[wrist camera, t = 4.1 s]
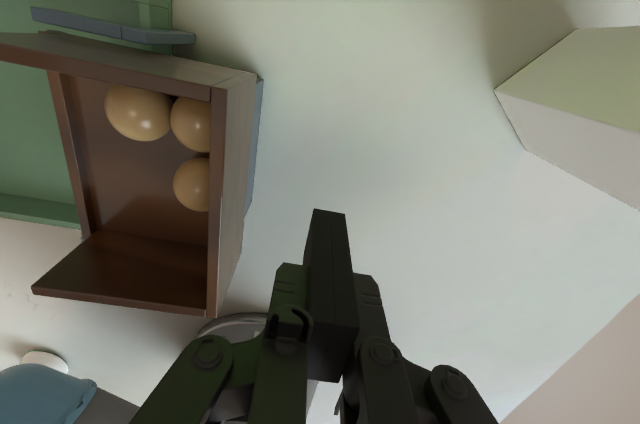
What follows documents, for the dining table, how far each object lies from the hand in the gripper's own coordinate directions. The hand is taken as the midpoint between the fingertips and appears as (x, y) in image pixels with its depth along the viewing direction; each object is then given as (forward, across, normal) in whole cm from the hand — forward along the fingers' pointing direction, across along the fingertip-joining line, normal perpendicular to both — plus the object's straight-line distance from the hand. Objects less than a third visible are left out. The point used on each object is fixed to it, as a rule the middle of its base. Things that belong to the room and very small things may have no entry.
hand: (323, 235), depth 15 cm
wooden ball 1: (+3, +10, -3) cm, 11 cm away
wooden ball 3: (+3, +7, 0) cm, 7 cm away
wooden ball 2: (+3, +7, -3) cm, 8 cm away
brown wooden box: (+5, +10, 0) cm, 11 cm away
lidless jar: (+11, +28, +32) cm, 44 cm away
